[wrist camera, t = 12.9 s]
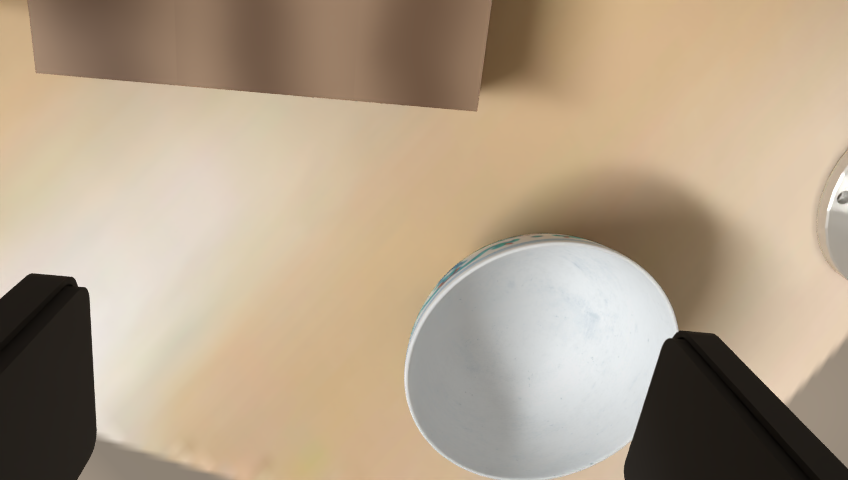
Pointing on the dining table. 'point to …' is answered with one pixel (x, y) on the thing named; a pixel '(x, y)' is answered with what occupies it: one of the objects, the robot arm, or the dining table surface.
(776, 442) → the robot arm
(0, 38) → the dining table surface
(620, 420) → the chinaware
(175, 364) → the dining table surface
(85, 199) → the dining table surface
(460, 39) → the well block
